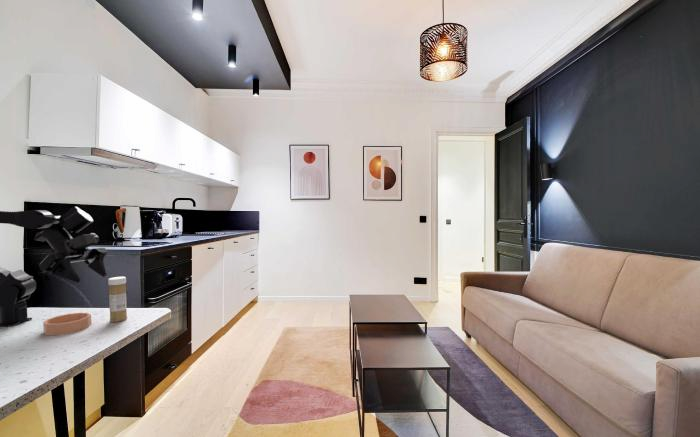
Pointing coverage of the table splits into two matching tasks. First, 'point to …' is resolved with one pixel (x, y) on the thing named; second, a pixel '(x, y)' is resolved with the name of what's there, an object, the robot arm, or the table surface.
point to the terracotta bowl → (67, 323)
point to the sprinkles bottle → (117, 299)
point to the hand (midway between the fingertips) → (92, 278)
